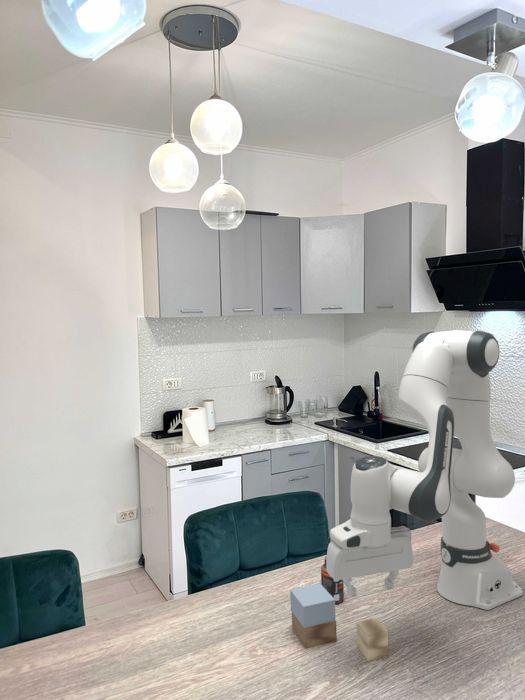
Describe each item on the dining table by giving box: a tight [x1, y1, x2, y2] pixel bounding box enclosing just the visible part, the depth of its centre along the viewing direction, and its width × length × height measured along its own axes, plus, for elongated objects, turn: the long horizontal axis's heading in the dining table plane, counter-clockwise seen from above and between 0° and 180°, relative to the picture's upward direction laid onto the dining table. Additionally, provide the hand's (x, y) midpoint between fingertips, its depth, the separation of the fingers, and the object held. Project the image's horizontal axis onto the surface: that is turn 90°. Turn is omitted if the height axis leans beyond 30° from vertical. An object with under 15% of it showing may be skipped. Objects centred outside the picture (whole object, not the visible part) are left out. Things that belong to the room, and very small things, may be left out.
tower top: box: [289, 583, 336, 628], centre depth 123 cm, size 8×8×5 cm
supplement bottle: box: [320, 555, 345, 605], centre depth 138 cm, size 6×6×11 cm
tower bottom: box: [291, 611, 337, 649], centre depth 123 cm, size 8×8×5 cm
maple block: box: [356, 617, 389, 662], centre depth 116 cm, size 5×5×6 cm
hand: (370, 591), depth 115 cm, fingers open, 8 cm apart
